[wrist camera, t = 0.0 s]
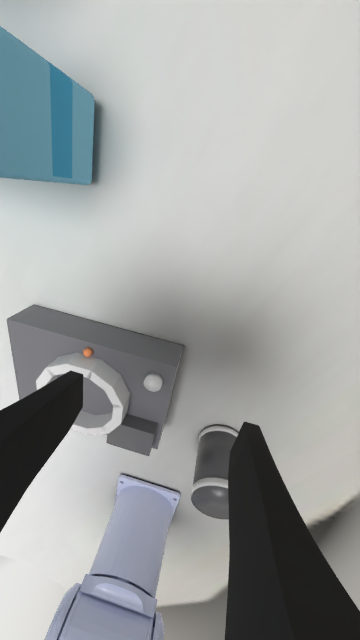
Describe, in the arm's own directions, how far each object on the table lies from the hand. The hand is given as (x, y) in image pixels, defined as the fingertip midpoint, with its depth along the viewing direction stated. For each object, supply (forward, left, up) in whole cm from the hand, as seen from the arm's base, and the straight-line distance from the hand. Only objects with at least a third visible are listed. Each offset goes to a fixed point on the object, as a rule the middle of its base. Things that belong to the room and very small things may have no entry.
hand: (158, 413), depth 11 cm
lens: (-13, -6, -10) cm, 17 cm away
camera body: (-8, +7, -10) cm, 15 cm away
